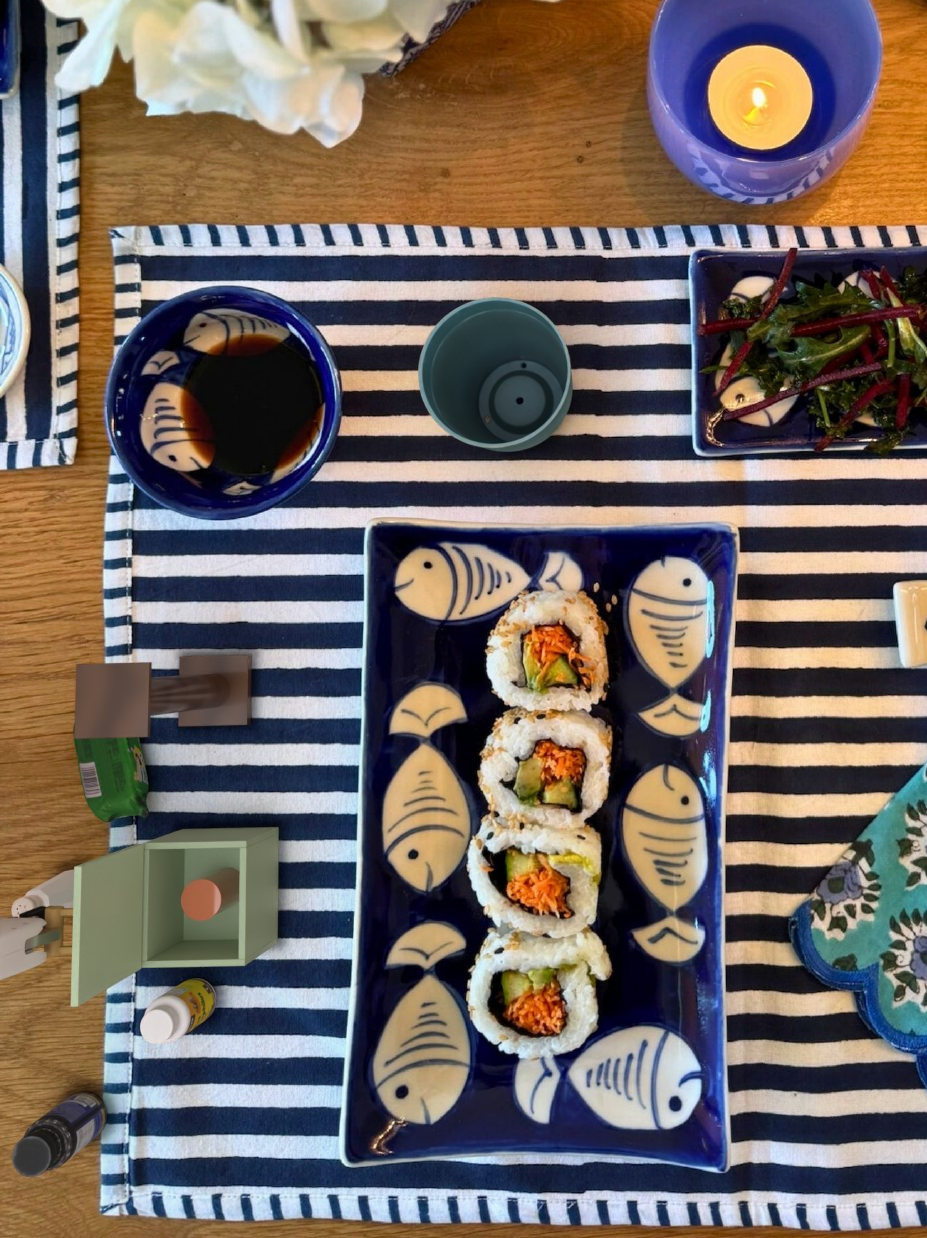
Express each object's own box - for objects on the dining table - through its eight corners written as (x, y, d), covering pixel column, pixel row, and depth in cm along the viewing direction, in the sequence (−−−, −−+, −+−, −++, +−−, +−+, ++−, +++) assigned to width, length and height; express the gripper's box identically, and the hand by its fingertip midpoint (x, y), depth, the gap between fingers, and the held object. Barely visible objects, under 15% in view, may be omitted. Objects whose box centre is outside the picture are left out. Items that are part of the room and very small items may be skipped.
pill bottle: (52, 1108, 138) (-5, 1149, 127) (92, 1080, 138) (38, 1118, 127) (78, 1150, 137) (22, 1194, 126) (118, 1121, 137) (66, 1163, 126)
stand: (182, 725, 142) (69, 743, 117) (183, 656, 142) (71, 659, 118) (251, 724, 141) (152, 741, 117) (251, 654, 142) (153, 657, 117)
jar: (206, 907, 139) (180, 921, 132) (207, 867, 139) (180, 879, 132) (245, 906, 139) (221, 920, 132) (246, 866, 139) (221, 878, 132)
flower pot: (430, 439, 144) (393, 413, 127) (484, 316, 146) (454, 274, 129) (555, 490, 143) (534, 470, 127) (608, 366, 145) (594, 330, 128)
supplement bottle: (217, 1022, 138) (178, 1052, 128) (174, 1021, 138) (131, 1051, 128) (219, 976, 139) (180, 1003, 128) (176, 975, 139) (134, 1002, 129)
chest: (278, 826, 140) (246, 840, 130) (277, 943, 139) (244, 965, 129) (182, 829, 140) (142, 842, 131) (180, 945, 139) (139, 968, 129)
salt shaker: (101, 872, 140) (49, 892, 129) (90, 914, 140) (37, 937, 129) (60, 863, 140) (5, 882, 129) (50, 905, 140) (-7, 928, 129)
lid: (81, 866, 117) (34, 867, 117) (77, 1006, 116) (29, 1007, 116) (143, 843, 130) (101, 844, 130) (141, 969, 129) (98, 970, 129)
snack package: (109, 826, 141) (86, 833, 135) (84, 708, 142) (60, 711, 137) (162, 812, 141) (142, 818, 136) (137, 694, 142) (115, 696, 137)
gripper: (-147, 1008, 106) (-17, 954, 124) (4, 1006, 105) (111, 952, 123) (-143, 929, 106) (-15, 887, 125) (6, 926, 106) (113, 884, 124)
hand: (48, 919), depth 124 cm, fingers closed
